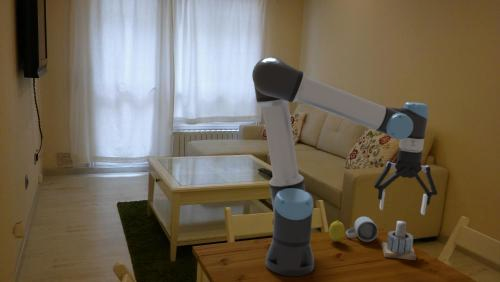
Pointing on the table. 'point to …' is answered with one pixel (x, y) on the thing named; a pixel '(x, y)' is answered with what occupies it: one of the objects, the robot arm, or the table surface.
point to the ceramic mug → (363, 229)
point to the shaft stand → (400, 233)
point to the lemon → (336, 231)
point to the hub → (399, 243)
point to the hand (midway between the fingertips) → (401, 211)
